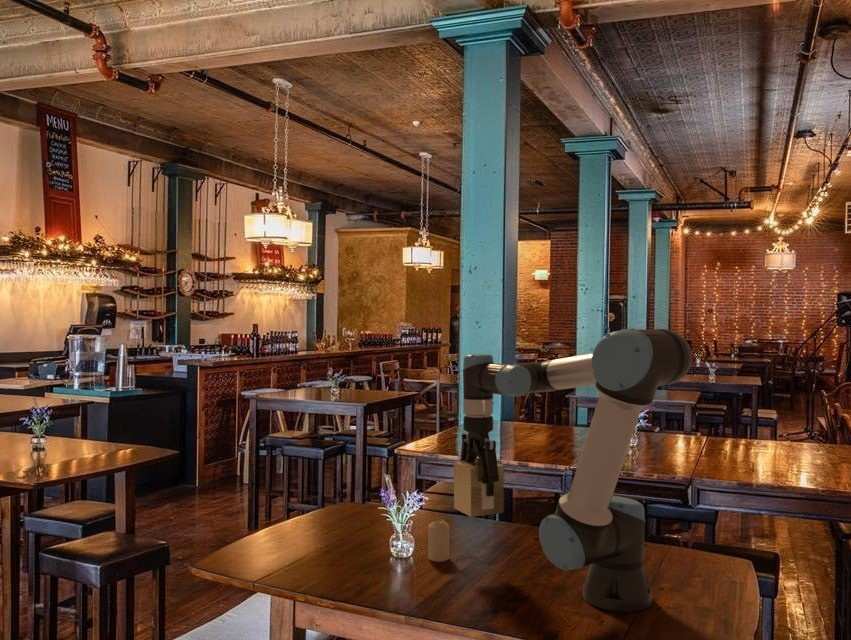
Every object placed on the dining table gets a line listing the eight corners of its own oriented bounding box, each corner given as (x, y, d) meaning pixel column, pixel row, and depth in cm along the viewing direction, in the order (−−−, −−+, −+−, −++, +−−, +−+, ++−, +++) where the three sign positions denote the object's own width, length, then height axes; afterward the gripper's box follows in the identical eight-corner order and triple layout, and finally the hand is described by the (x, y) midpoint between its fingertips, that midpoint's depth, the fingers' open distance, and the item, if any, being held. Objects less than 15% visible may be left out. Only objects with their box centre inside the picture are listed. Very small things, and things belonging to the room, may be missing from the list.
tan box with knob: (503, 512, 184) (503, 460, 184) (470, 517, 181) (470, 463, 181) (485, 504, 193) (485, 454, 193) (454, 508, 189) (453, 457, 189)
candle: (436, 553, 198) (437, 516, 198) (453, 558, 194) (453, 520, 194) (423, 558, 194) (424, 520, 194) (440, 563, 190) (440, 525, 190)
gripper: (513, 419, 178) (513, 512, 178) (471, 409, 198) (471, 493, 198) (486, 421, 175) (486, 516, 175) (445, 411, 195) (446, 496, 195)
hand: (478, 504), depth 187 cm, fingers closed on tan box with knob, 9 cm apart
